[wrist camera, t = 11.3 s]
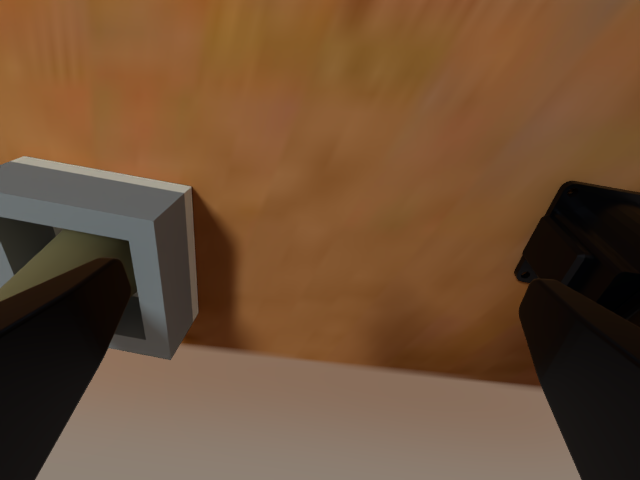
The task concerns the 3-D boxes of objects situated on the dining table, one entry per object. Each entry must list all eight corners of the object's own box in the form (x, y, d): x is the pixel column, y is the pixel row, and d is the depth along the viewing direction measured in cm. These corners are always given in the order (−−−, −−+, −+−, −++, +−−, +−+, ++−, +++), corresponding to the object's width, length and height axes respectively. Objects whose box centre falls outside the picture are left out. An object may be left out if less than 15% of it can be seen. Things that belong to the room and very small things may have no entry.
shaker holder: (191, 186, 21) (153, 221, 18) (198, 312, 27) (170, 359, 23) (24, 156, 22) (-50, 183, 18) (65, 287, 27) (16, 329, 23)
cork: (176, 275, 24) (53, 433, 15) (109, 294, 26) (-39, 447, 16) (121, 197, 21) (-73, 332, 12) (50, 225, 23) (-168, 361, 14)
